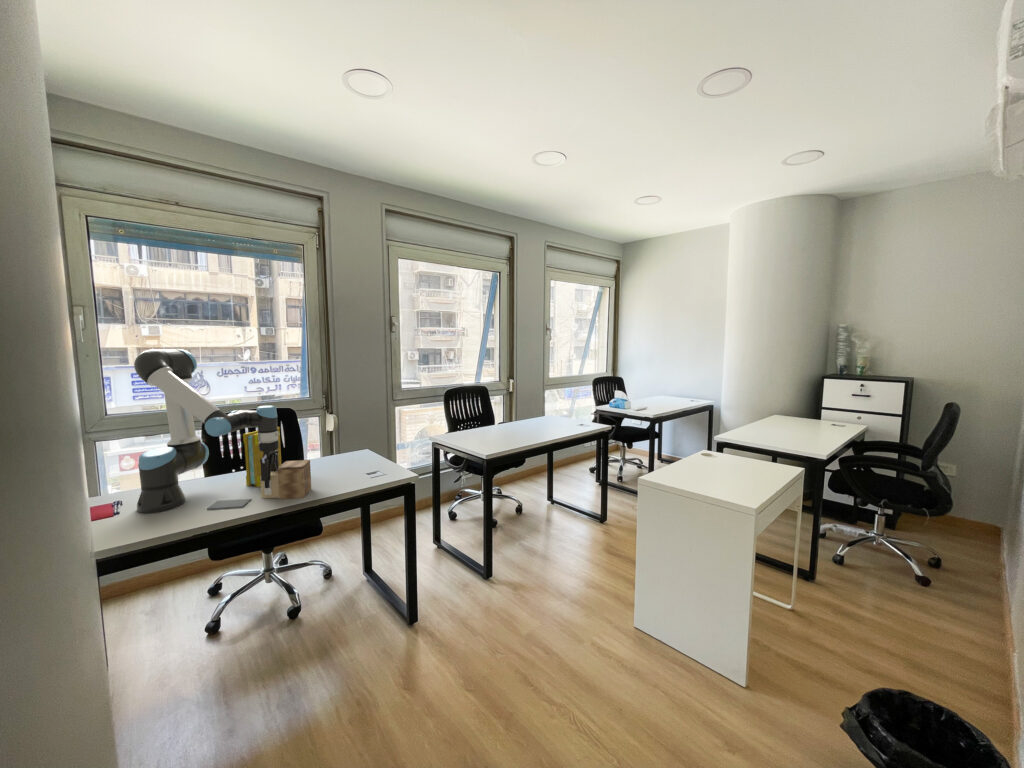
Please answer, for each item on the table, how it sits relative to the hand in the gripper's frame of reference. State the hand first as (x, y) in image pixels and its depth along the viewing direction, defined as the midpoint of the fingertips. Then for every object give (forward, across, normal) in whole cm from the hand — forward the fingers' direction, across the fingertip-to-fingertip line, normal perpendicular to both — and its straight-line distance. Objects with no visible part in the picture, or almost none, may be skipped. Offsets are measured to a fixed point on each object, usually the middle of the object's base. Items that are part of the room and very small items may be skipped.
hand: (271, 491), depth 179 cm
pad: (+2, -8, +13) cm, 16 cm away
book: (+2, +21, +10) cm, 23 cm away
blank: (+2, 0, -3) cm, 3 cm away
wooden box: (+2, 0, -10) cm, 10 cm away
